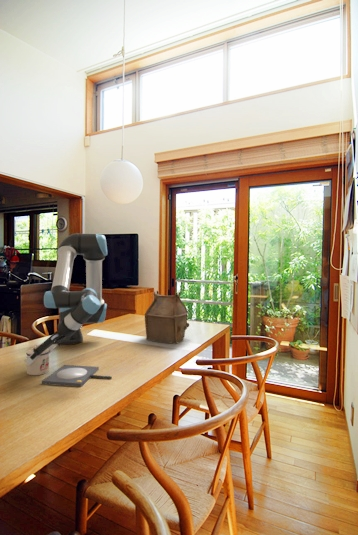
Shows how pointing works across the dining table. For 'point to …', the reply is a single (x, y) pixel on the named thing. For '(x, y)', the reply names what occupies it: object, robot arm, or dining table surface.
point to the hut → (166, 319)
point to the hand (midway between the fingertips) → (36, 357)
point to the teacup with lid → (38, 363)
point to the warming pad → (72, 375)
